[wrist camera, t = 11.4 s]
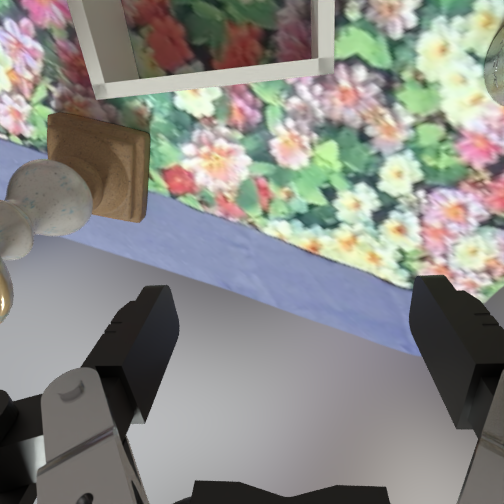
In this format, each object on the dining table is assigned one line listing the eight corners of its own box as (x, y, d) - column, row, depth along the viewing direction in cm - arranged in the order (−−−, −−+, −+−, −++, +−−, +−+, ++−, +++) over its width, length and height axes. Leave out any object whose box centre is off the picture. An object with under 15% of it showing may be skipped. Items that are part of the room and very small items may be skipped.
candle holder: (151, 132, 39) (-5, 214, 18) (146, 218, 44) (22, 358, 23) (55, 110, 38) (-216, 167, 18) (62, 199, 44) (-139, 324, 23)
